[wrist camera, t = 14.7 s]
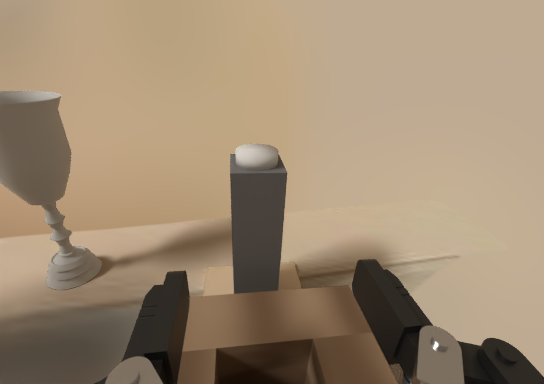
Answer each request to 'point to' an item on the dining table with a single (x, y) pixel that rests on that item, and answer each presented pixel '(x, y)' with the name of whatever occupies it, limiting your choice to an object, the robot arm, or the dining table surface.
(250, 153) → the plug
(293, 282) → the pad
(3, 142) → the chalice
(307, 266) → the dining table surface
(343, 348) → the wooden square socket block
